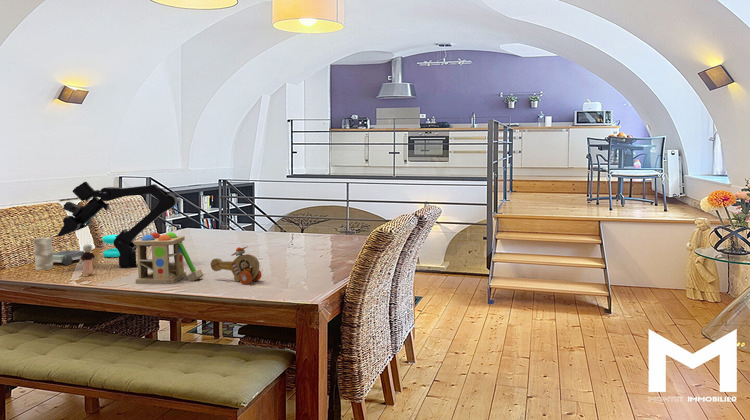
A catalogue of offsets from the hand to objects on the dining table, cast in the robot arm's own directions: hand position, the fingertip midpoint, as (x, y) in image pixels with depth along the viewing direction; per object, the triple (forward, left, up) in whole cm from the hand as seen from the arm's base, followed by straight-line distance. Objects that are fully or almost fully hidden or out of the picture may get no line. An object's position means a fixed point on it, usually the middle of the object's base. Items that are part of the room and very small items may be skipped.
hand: (62, 234), depth 249 cm
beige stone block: (+8, -3, -14) cm, 17 cm away
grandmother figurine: (-10, +21, -15) cm, 27 cm away
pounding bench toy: (-39, +44, -15) cm, 61 cm away
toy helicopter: (-61, +59, -15) cm, 86 cm away
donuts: (-20, -25, -15) cm, 35 cm away
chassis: (0, -17, -14) cm, 22 cm away
